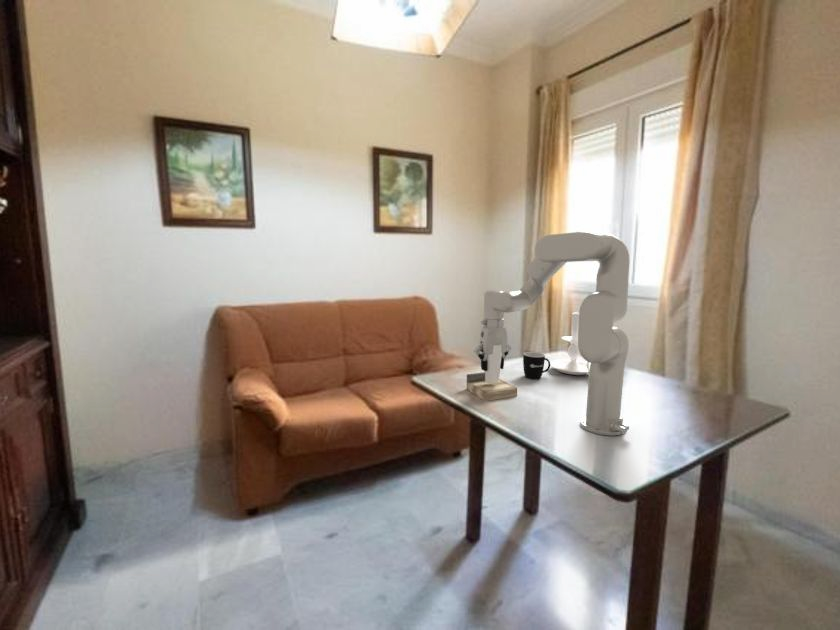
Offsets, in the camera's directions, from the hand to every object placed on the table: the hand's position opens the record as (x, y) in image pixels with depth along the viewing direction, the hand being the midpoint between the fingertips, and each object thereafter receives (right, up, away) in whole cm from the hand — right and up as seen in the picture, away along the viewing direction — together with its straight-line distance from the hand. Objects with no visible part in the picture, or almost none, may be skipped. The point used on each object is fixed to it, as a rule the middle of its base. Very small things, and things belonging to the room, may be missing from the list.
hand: (492, 368), depth 155 cm
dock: (0, -9, +2) cm, 9 cm away
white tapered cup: (0, -5, +1) cm, 5 cm away
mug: (+23, -7, +21) cm, 32 cm away
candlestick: (+42, -6, +27) cm, 51 cm away
